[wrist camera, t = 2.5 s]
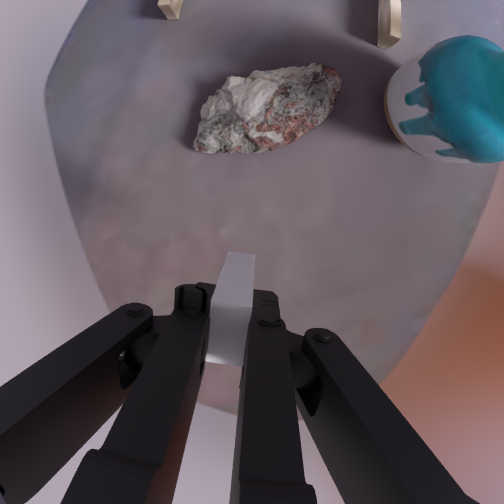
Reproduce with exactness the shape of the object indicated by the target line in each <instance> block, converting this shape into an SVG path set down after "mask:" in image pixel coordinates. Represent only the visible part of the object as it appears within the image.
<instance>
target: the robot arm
mask: <svg viewBox="0 0 504 504" xmlns="http://www.w3.org/2000/svg"><path fill="white" fill-rule="evenodd" d="M254 268H255V254H247V253H240V252H233V251H228V254H227V257H226V260H225V262H224V265H223V268H222V271H221V274H220V277H219V279H218V282H217V285H215V284H208V283H202V282H199V283H197V284H184V285H180V286H178V287H176V288H175V302H174V310H173V312H172V314H171V315H167V316H153V310H152V309H151V308H150V307H149V306H147V305H145V304H141V303H130V304H125V305H123V306H121V307H119V308H118V309H116V310H115V311H113V312H112V313H110V314H109V315H107V316H105V317H104V318H102V319H101V320H100V321H98V322H96V323H95V324H93V325H92V326H90V327H89V328H87V329H86V330H84V331H83V332H81V333H79V334H78V335H76V336H75V337H73V338H72V339H70V340H69V341H67V342H66V343H64V344H63V345H61V346H60V347H58V348H57V349H55V350H54V351H52V352H51V353H49V354H48V355H47V356H45V357H43V358H42V359H41V360H39V361H37V362H36V363H34V364H33V365H31V366H30V367H28V368H27V369H26V370H24V371H23V372H21V373H20V374H18V375H17V376H16V377H14V378H12V379H11V380H10V381H8V382H7V383H5V384H4V385H2V386H1V387H0V504H24V503H26V502H27V501H28V500H30V499H31V498H32V497H33V496H34V495H35V494H36V493H37V492H38V491H40V489H41V488H42V487H44V485H45V484H46V483H47V482H48V481H49V480H50V479H51V478H52V477H53V476H54V475H55V474H56V473H57V472H58V471H59V470H60V469H61V468H62V467H63V466H64V465H65V464H66V463H67V462H68V461H69V460H70V459H71V458H72V457H73V456H74V455H75V454H76V452H77V451H78V450H79V449H80V448H81V447H82V446H83V445H84V444H85V443H86V442H87V441H88V440H89V439H90V438H91V437H92V436H93V435H94V434H95V433H96V432H97V430H99V429H100V427H101V426H102V425H103V424H104V423H105V422H106V421H107V420H108V419H109V418H110V417H111V416H112V415H113V414H114V413H115V412H116V411H117V410H118V409H119V407H120V406H121V405H122V404H123V405H122V407H121V410H120V412H119V413H118V415H117V418H116V419H115V422H114V423H113V426H112V427H111V430H110V431H109V433H108V436H107V438H106V440H105V442H104V444H103V445H102V447H101V448H100V449H99V450H96V449H91V450H89V451H88V452H87V453H86V454H85V456H84V457H83V459H82V461H81V463H80V465H79V467H78V469H77V471H76V473H75V475H74V477H73V479H72V481H71V483H70V485H69V487H68V489H67V491H66V493H65V495H64V498H63V500H62V502H61V504H172V501H173V497H174V492H175V488H176V484H177V479H178V475H179V471H180V466H181V462H182V458H183V454H184V450H185V445H186V441H187V437H188V433H189V429H190V425H191V420H192V417H193V413H194V409H195V405H196V400H197V396H198V392H199V388H200V384H201V380H202V377H203V373H204V368H205V358H206V361H207V362H213V363H220V364H227V365H234V366H241V367H243V368H242V374H241V380H240V386H239V388H240V395H239V406H238V417H237V428H236V438H235V449H234V460H233V470H232V481H231V492H230V502H229V504H317V498H316V494H315V490H314V488H313V486H312V485H309V484H307V483H306V481H305V476H304V467H303V459H302V450H301V441H300V433H299V424H298V416H297V408H296V405H297V407H298V409H299V411H300V413H301V415H302V417H303V419H304V421H305V423H306V425H307V428H308V430H309V432H310V434H311V436H312V438H313V440H314V442H315V444H316V446H317V448H318V450H319V452H320V454H321V456H322V458H323V460H324V463H325V465H326V466H327V469H328V471H329V472H330V475H331V476H332V478H333V480H334V483H335V485H336V487H337V488H338V491H339V493H340V494H341V496H342V498H343V500H344V502H345V504H480V503H478V502H476V501H475V500H473V499H472V498H470V497H469V496H467V495H466V494H465V493H464V492H463V491H462V489H461V488H460V487H459V485H458V484H457V483H456V482H455V480H454V479H453V478H452V476H451V475H450V474H449V473H448V471H447V470H446V469H445V468H444V466H443V465H442V464H441V463H440V461H439V460H438V459H437V458H436V456H435V455H434V454H433V452H432V451H431V450H430V449H429V447H428V446H427V445H426V444H425V442H424V441H423V440H422V439H421V437H420V436H419V435H418V434H417V433H416V431H415V430H414V429H413V427H412V426H411V425H410V424H409V422H408V421H407V420H406V419H405V417H404V416H403V415H402V414H401V413H400V411H399V410H398V409H397V408H396V406H395V405H394V404H393V403H392V401H391V400H390V399H389V398H388V396H387V395H386V394H385V393H384V392H383V390H382V389H381V388H380V387H379V385H378V384H377V383H376V382H375V380H374V379H373V378H372V377H371V376H370V374H369V373H368V372H367V371H366V369H365V368H364V367H363V366H362V365H361V363H360V362H359V361H358V360H357V358H356V357H355V356H354V355H353V354H352V352H351V351H350V350H349V349H348V348H347V346H346V345H345V344H344V343H343V341H342V340H341V339H340V338H339V337H338V336H337V335H336V334H335V333H333V332H331V331H329V330H328V329H324V328H312V329H309V330H307V331H306V332H305V335H304V336H301V335H298V334H295V333H292V332H290V331H288V330H287V329H286V325H285V323H284V321H283V320H282V319H281V318H280V310H279V303H278V296H277V295H276V294H275V293H274V292H271V291H264V290H256V289H253V287H254ZM121 354H122V355H121ZM120 355H121V356H120Z"/></svg>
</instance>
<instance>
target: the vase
mask: <svg viewBox="0 0 504 504" xmlns="http://www.w3.org/2000/svg"><path fill="white" fill-rule="evenodd" d="M384 111H385V115H386V119H387V122H388V124H389V126H390V128H391V130H392V132H393V133H394V134H395V136H396V137H397V138H398V140H399V141H400V142H401V143H402V144H403V145H405V146H406V147H407V148H408V149H410V150H412V151H413V152H415V153H417V154H419V155H422V156H425V157H428V158H432V159H438V160H443V161H450V162H461V163H494V162H500V161H504V51H503V50H502V49H501V48H500V47H498V46H497V45H496V44H494V43H493V42H491V41H489V40H487V39H484V38H481V37H477V36H470V35H465V36H458V37H453V38H450V39H447V40H444V41H442V42H440V43H437V44H435V45H433V46H431V47H429V48H427V49H425V50H423V51H422V52H420V53H418V54H417V55H415V56H414V57H412V58H411V59H409V60H408V61H407V62H406V63H404V64H403V65H402V66H401V67H400V68H399V69H398V70H397V71H396V72H395V73H394V74H393V75H392V77H391V78H390V80H389V82H388V84H387V86H386V89H385V93H384Z"/></svg>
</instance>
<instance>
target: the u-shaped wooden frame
mask: <svg viewBox="0 0 504 504" xmlns="http://www.w3.org/2000/svg"><path fill="white" fill-rule="evenodd" d="M182 4H183V0H159V2H158V6H159V8H160V9H161V11H162V12H163V13H164V15H165V16H166V17H167V19H168V20H175V19H179V15H180V11H181V7H182ZM400 39H401V1H400V0H378V40H377V47H379V48H382V49H385V50H388V49H389V48H390V47H391V46H393V45H394V44H395V43H396V42H398V41H399V40H400Z"/></svg>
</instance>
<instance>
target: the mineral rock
mask: <svg viewBox="0 0 504 504" xmlns="http://www.w3.org/2000/svg"><path fill="white" fill-rule="evenodd" d="M341 84H342V80H341V77H340V75H338V73H337V72H336V71H335V69H333V68H330V67H327V66H324V65H321V64H315V63H311V64H310V65H309V66H302V67H300V68H298V67H291V66H290V67H287V68H279V69H276V70H266V71H258V70H255V71H253V72H252V73H251V74H249V75H248V76H247V77H246V78H241V77H233V76H230V77H227V81H226V82H225V84H224V85H223V86H222V87H221V89H217V90H216V91H217V92H216V93H215V95H214V96H209V97H208V100H207V102H206V103H205V104H203V105H202V108H201V118H202V120H201V121H200V123H199V125H198V127H199V129H198V133H197V136H196V139H195V140H194V142H193V143H194V145H193V148H194V149H195V150H197V151H198V152H201V153H203V154H212V153H217V152H219V151H222V152H224V153H225V152H228V153H229V154H231V153H233V152H240V153H244V154H246V153H251V152H257V153H261V152H263V151H272V150H274V149H275V148H278V147H281V146H283V145H287V144H289V143H291V142H295V141H296V140H297V139H298V138H299V137H301V136H302V135H303V134H305V133H306V132H308V131H310V130H311V129H313V128H315V127H316V126H318V125H319V124H321V123H322V122H323V121H324V119H325V118H327V116H328V115H329V114H330V113H331V111H332V110H333V108H334V101H335V100H336V96H337V94H338V93H339V91H340V88H341Z"/></svg>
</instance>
